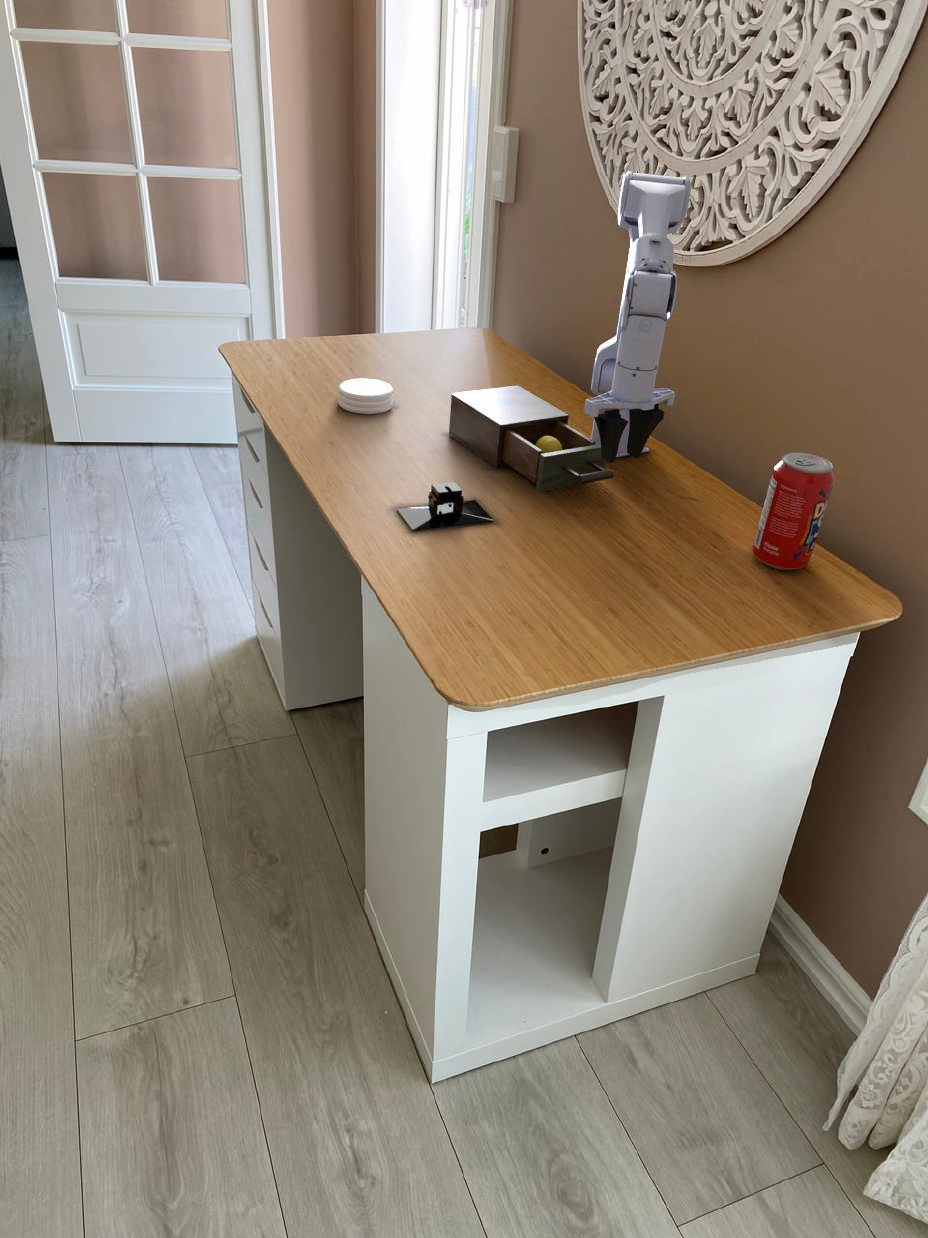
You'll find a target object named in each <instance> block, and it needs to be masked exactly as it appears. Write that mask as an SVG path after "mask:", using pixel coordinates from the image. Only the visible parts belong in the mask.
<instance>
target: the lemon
mask: <svg viewBox="0 0 928 1238" xmlns="http://www.w3.org/2000/svg"><path fill="white" fill-rule="evenodd" d="M535 446H536V447H538V448H539V449H541V450H542V451H543V453H542V454H544V453H550V452H556V451H562V445H561V443H560V442H559V441H558V440H557V439H556V438H554V437H552V436H544V437H541V438H540V439H539V440H538V441H537V443H536V445H535Z"/></svg>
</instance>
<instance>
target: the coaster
mask: <svg viewBox="0 0 928 1238" xmlns="http://www.w3.org/2000/svg"><path fill="white" fill-rule="evenodd" d="M337 391H338V393H337V398H338V399H337V403H338V405H339V407H340V408H341V409H343V410H345V411H347V412H350V413H353V414H361V415H376V414H377V415H378V414H383V413H386V412H388V411H389V410H391V409H392V408H393V405H394V401H393V400H394V387H392V385H390V384H389V383H387V382H385V381H382V380H379V379H373V378H353V379H348V380H344V381H343V382H341V383H340V384H338V387H337Z"/></svg>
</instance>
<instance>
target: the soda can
mask: <svg viewBox="0 0 928 1238" xmlns="http://www.w3.org/2000/svg"><path fill="white" fill-rule="evenodd" d="M833 468H834V465H833V463H832V462H830V460H828V459H827V458H824V457H822V456H819V455H816V454H813V453H808V452H801V451H799V452H798V451H792V452H791V451H790V452H787V453H784V454H783V455H782V457H781V460H780V461H779V462H778V463H776V464H775V465H774V467H773V470H772V473H771V477H770V481H769V485H768V489H767V493H766V496H765V500H764V502H763V503H764V504H763V507H762V511H761V514H760V518H759V521H758V526H757V529H756V532H755V537H754V541H753V544H752V554H753V555H754V556H755V558H756V559H757V560H758V561H760V562H761V563H762V564H763V565H766V566H768V567H770V568H773V569H775V570H780V571H794V570H799V569H802V568H805V567H806V566H808V564H809V563H810V560H811V558H812V555H813V551H814V548H815V545H816V542H817V538H818V535H819V533H820V529H821V526H822V523H823V518H824V516H825V513H826V510H827V507H828V503H829V500H830V497H831V494H832V491H833V488H834V484H835V479H836V478H835V475H834V473H833Z"/></svg>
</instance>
